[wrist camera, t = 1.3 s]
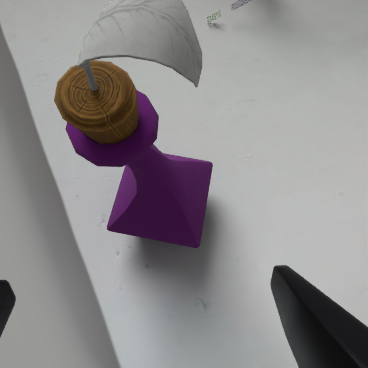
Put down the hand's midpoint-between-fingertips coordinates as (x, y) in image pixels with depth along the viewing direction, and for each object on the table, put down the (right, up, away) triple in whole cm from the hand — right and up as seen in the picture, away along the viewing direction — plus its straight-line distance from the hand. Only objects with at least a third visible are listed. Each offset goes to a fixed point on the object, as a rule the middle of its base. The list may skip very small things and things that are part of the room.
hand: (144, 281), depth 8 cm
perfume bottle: (-1, +1, +14) cm, 15 cm away
